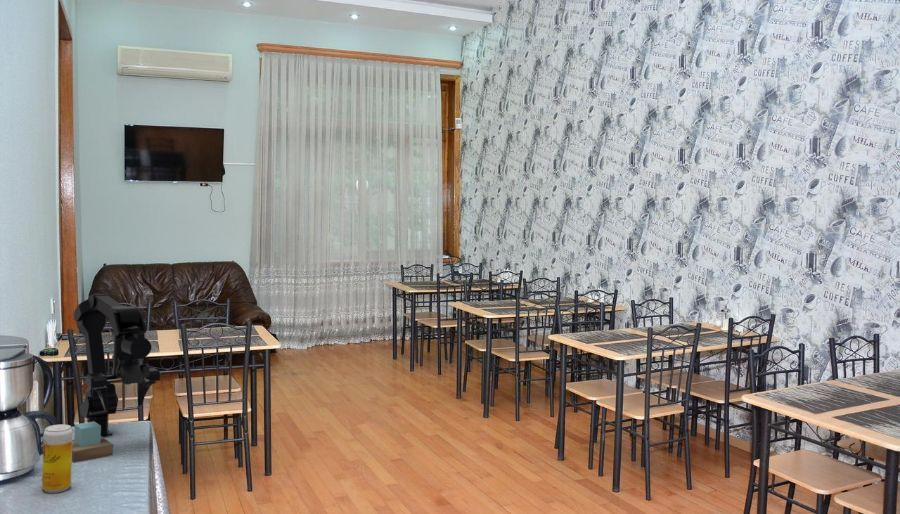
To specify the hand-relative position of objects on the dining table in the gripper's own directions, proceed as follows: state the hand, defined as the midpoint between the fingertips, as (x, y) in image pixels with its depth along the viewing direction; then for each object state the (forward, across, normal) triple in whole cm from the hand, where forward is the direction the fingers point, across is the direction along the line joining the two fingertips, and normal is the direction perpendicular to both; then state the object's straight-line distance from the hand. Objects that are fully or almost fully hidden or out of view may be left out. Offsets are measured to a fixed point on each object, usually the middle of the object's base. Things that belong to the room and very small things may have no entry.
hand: (123, 407), depth 199 cm
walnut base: (+12, -8, +2) cm, 15 cm away
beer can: (+12, -22, -20) cm, 32 cm away
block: (+9, -8, +2) cm, 13 cm away
